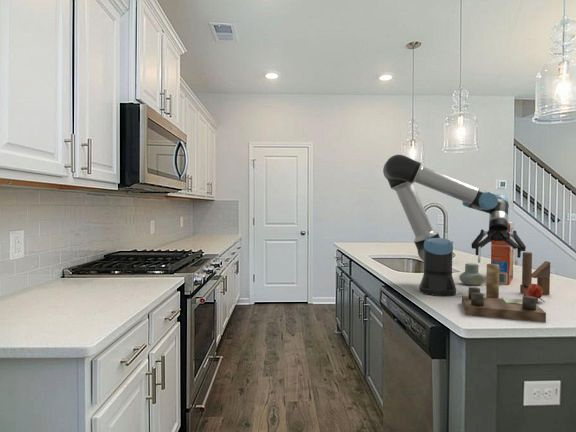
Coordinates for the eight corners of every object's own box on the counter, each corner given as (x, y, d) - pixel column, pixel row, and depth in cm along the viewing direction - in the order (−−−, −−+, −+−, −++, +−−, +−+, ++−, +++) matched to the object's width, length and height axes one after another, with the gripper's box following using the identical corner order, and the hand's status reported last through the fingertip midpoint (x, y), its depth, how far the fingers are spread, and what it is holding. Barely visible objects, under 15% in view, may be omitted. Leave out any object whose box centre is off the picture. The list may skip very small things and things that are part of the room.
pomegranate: (536, 305, 163) (515, 288, 165) (550, 292, 160) (528, 276, 163) (540, 311, 156) (517, 294, 158) (554, 298, 154) (531, 281, 156)
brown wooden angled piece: (549, 294, 172) (550, 253, 172) (524, 294, 173) (524, 252, 172) (544, 293, 176) (545, 252, 175) (519, 292, 176) (520, 251, 176)
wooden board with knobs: (465, 315, 138) (466, 295, 138) (461, 303, 155) (462, 285, 155) (545, 322, 130) (546, 300, 130) (532, 308, 147) (532, 290, 147)
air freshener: (465, 286, 190) (466, 265, 189) (456, 283, 198) (456, 262, 198) (487, 285, 191) (487, 265, 191) (476, 282, 199) (477, 262, 199)
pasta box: (509, 285, 193) (510, 223, 193) (490, 283, 198) (491, 222, 197) (512, 278, 212) (513, 221, 212) (495, 276, 217) (496, 221, 216)
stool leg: (486, 303, 156) (487, 265, 156) (485, 300, 160) (486, 263, 160) (499, 304, 154) (500, 265, 154) (497, 301, 159) (498, 264, 158)
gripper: (531, 230, 173) (532, 269, 161) (468, 228, 185) (464, 265, 173) (531, 218, 168) (533, 258, 156) (467, 217, 180) (463, 254, 168)
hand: (497, 262), depth 164 cm, fingers open, 13 cm apart
